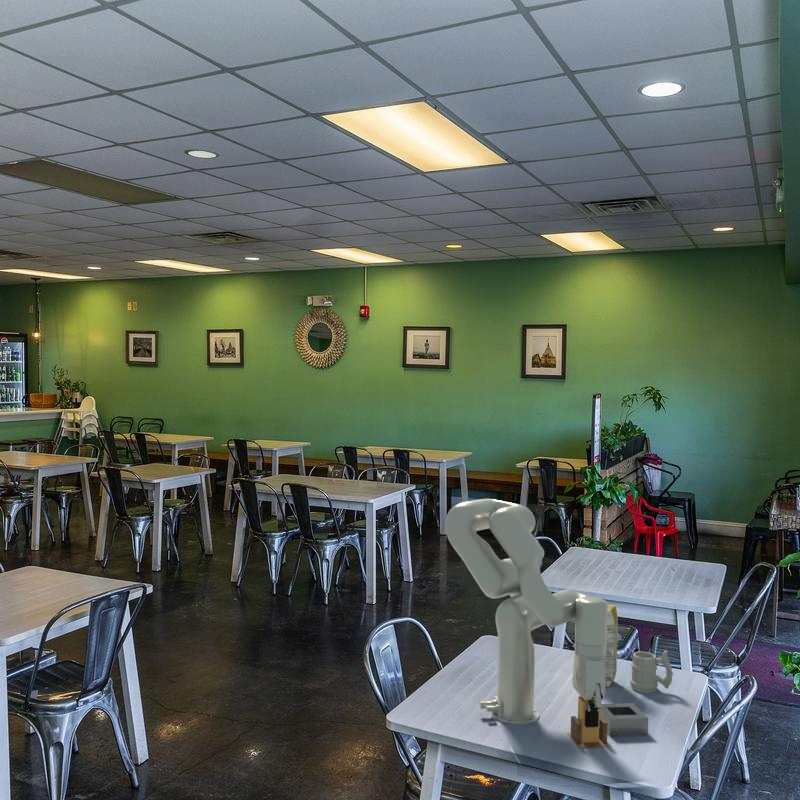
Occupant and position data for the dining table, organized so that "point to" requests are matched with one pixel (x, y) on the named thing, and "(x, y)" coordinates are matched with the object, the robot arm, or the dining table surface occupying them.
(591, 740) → the plug
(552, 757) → the dining table surface
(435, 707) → the dining table surface
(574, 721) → the tan u-shaped piece
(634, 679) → the mug
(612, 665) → the juice carton
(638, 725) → the port block
